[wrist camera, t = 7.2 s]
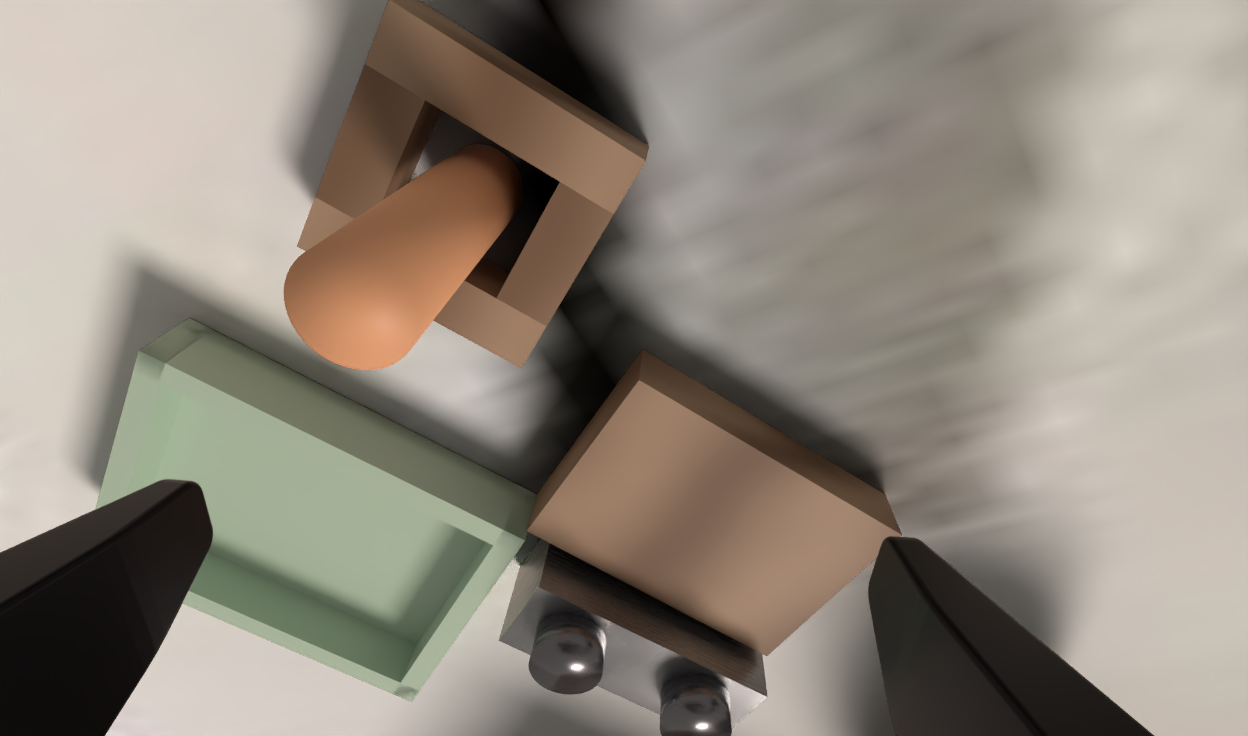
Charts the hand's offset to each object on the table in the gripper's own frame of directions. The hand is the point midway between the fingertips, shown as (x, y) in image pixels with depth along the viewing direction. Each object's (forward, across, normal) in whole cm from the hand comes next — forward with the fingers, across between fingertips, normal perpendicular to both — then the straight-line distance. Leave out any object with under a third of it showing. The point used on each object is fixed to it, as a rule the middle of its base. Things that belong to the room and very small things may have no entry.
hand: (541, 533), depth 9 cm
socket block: (+13, +4, -1) cm, 14 cm away
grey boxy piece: (+13, -2, +14) cm, 19 cm away
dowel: (+13, +4, -1) cm, 14 cm away
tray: (+13, +10, +11) cm, 20 cm away
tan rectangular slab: (+13, -4, +9) cm, 17 cm away
